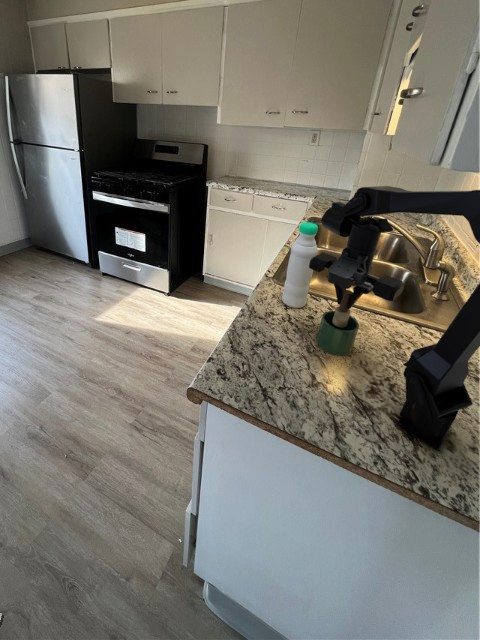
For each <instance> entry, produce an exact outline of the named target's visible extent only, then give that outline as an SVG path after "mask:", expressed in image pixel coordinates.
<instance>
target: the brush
mask: <svg viewBox="0 0 480 640" xmlns="http://www.w3.org/2000/svg"><path fill="white" fill-rule="evenodd" d="M352 294H353V290H350V289H346V290H344V291H343V295H342V298H341V302H340V305H338V306H336V307H335V310H334V311H335V313H334V317H333V321H332V322H333V324H334V325H335V326H337V327H341V328H344V327H346V326H347V323H348V319H349V316H351V310H350V309H348V304H349V301H350V299H351V296H352Z"/></svg>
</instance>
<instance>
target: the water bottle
mask: <svg viewBox="0 0 480 640" xmlns="http://www.w3.org/2000/svg"><path fill="white" fill-rule="evenodd" d="M318 230H319V226H318V225H317V224H316V223H315V222H307V221H306V222H301V223H300V224H299V227H298V233H299V235H298V237H297V238H296V239H295V241H294V242H293V243H292V244H291V247H290V254H289V259H288V262H287V268H286V276H285V277H286V278H285V281H284V286H283V292H282V295H281V300H282V302H283V304H285V306H287V307H290V308H295V309H300V308H303V307H305V306H306V305H307V303H308V302H307V301H308V294H309V292H310V286H311V281H312V277H313V275H314V270H312V269H310V268H309V262H310V260H311V258H313V257H315V256H317V255H318V252H319V250H318V246H317V245H318V244H317V241H316V239H315V236H317V234H318Z"/></svg>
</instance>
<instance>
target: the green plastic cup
mask: <svg viewBox="0 0 480 640" xmlns="http://www.w3.org/2000/svg"><path fill="white" fill-rule="evenodd" d="M334 313H335V310H328V311H325V312H324V313H322V316H321V319H320V324H319V327H318V331H317V335H316V343H317V345H318V346H319V347H320V348H321V349H322V350H324V351H326V352H327V353H330V354H331V355H336V356H345V355H348V354H350V353H351V352H352V351H353V348H354V344H355V341H356V338H357V335H358V332H359V329H360V323H359V322H358V320H357V318H354V316H352V315H350V316H349V319H348V323H347V326H346V327H344V328H341V327H337V326H335V325H334V324H333V322H332V321H333V317H334Z"/></svg>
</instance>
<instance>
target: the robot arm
mask: <svg viewBox="0 0 480 640" xmlns="http://www.w3.org/2000/svg"><path fill="white" fill-rule="evenodd" d="M397 213H398V214H399V213H405V214H406V213H407V214H422V215H440V216H441V215H442V216H443V215H444V216H457V217H458V216H460V217H463V218H465V220H466V221H467V222H468V225H469V227H470V229H471V232H472V235H473V237H474V240H475V241H476V242H477V243H478V244H479V245H480V189H473V190H425V191H424V190H418V191H417V190H416V191H415V190H414V191H412V190H407V189H405V188H402V187H396V186H390V185H377V186H362V187H359V188H357V190H356V191H355V193H354V195H353V196H352V197H351V198H350V200H348V201H347V202H346V203H344V202H340V201H335V202H334V201H333V202H332V203H331V206H330V207H329V208H328V209H327V210H326V211H325V212H324V213H323V215H322V216H321V221H320V223H321V226H322V227H323V228H324V229H325V230H328V231H330V232H332V233H333V234H336V235H338V236H340V237H342V238H347V241H346V244H345V247H344V248H343V249H342V251H341V253H340V256H339V257H338V258H337V256H334V255H331V254H329V253H326V252H321V253H319V254H317V255H316V256H315V257H313V258H311V260H310V262H309V268H310V269H312V270H313V271H315V272H317V273H322V272H323V271H325V269H327V275H326V278H327V282H328V283H329V284H333V286H334V290H335V295H336V302H337V305H338V306H340V302H341V298H342V295H343V291H344V290H350V289H351V288H352V292H353V294H352V296H351V299H350V301H349V304H348V309H349V310H350V309H352V308H353V306H354V305H355V304H356V303H357V301H359V300H360V298H361V297H363V295H369V294H370V293H371V292H372V293H373V295H374V296H376V297H378V298H380V299H383V300H385V301H388V302H394V300H396V299H397V298H398V297H400V295H401V294H402V293H403V291H404V288H405V283H404V281H403V280H401V279H398V278H395V277H393V276H390V275H387V274H384V275H383V276H381V277H380V278H379V277H378V276H375V275H372V274H370V272H372V269H373V266H372V265H373V261H374V258H375V256H376V255H377V254H378V249H377V248H378V245H379V241H380V238H381V235H382V233H392V232H393V231H394V228H393V226H392V224H390V223H389V220H388V218H378V219H376V218H375V217H372V216H382V215H392V214H397ZM479 348H480V282H479V283H478V284H477V285H476V287H475V289H474V290H473V292H472V293H471V294H470V296H469V297H468V298H467V300H466V301H465V303H464V304H463V305H462V307H461V309H460V310H459V311H458V313H457V314H456V316H455V317H454V318H453V320H452V321H451V322H450V324H449V325H448V326H447V328H446V330H445V331H444V333H443V334H442V335H441V337H440V338H439V339H438V341H437V342H436V343H434V344H430V345H426V346H423V347H419V348H415V349H413V350H412V352H411V353H410V356H409V359H408V360H407V361H406V362H404V363H402V365H403V366H404V367H405V368H404V369H403V370H404V371H403V377H404V378H405V401H404V404H403V406H402V408H401V410H400V411H399V416H400V419H399V420H398V422H397V424H398V426H399V427H401V428H402V429H404V430H405V431H407V432H408V433H409V434H411V435H412V436H414V437H416V438H417V439H419V440H420V441H422V442H423V443H425V444H426V445H428V446H429V447H431V448H433V449H434V450H435V451H439V450H440V449H441V447H442V445H443V443H444V441H445V438H446V437H447V434H448V432H449V430H450V429H451V427H452V425H453V423H454V421H455V420H456V417H457V416H458V414H459V411H460V410H465V409H467V408H470V407H471V406H473V401H472V398H471V396H470V394H469V392H468V390H467V387H466V385H465V381H466V378H467V376H468V375H469V361H470V359H471V358H472V357H473V355H474V354H475V353H476V352H477V351H478V350H479Z"/></svg>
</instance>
